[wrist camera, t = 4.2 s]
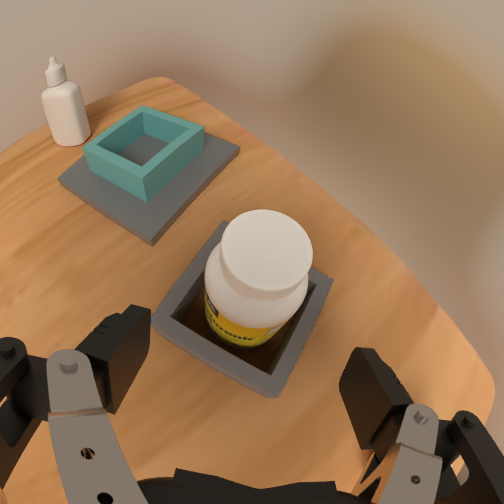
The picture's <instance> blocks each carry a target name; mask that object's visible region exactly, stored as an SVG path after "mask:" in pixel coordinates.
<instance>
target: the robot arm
mask: <svg viewBox="0 0 504 504" xmlns="http://www.w3.org/2000/svg"><path fill="white" fill-rule="evenodd" d="M150 325H151V310H150V309H148V308H144V307H141V306H137V305H133V304H131V305H130V306H129V307H128V308H127V309H126V310H125V311H124V312H123V313H122V314H119V313H115V314H112V315H110V316H108V317H106V318H105V319H104V320H103V321H102V322H101V323H100V324H99V326H97V327H96V328H95V329H94V330H93V331H92V332H91V333H90V334H89V335H88V336H87V337H86V338H85V339H84V340H83V341H82V342H81V343H80V344H79V345H78V346H77V347H76V348H75V349H74V350H71V349H64V350H59V351H56V352H54V353H53V354H51V355H50V356H49V358H48V359H46V358H41V357H36V356H31V355H28V354H27V350H26V346H25V344H24V343H23V342H22V341H21V340H19V339H17V338H14V337H4V338H0V402H1V401H2V400H3V399H4V397H5V396H6V397H7V399H6V401H5V402H4V403H3V404H2V406H1V407H0V504H7V499H6V496H5V494H4V492H3V488H4V486H5V484H6V482H7V480H8V478H9V476H10V474H11V473H12V471H13V469H14V467H15V465H16V463H17V462H18V460H19V458H20V456H21V454H22V453H23V451H24V449H25V448H26V446H27V444H28V443H29V441H30V439H31V438H32V436H33V434H34V433H35V431H36V429H37V428H38V426H39V425H40V423H41V421H42V420H44V421H48V422H49V428H50V434H51V439H52V444H53V449H54V454H55V458H56V462H57V466H58V470H59V474H60V477H61V481H62V484H63V488H64V491H65V494H66V497H67V500H68V503H69V504H504V456H503V454H502V453H501V451H500V450H499V448H498V447H497V445H496V443H495V442H494V440H493V439H492V437H491V436H490V435H489V433H488V431H487V430H486V429H485V427H484V426H483V424H482V423H481V421H480V420H479V419H478V417H477V416H475V415H474V414H473V413H471V412H468V411H464V410H462V411H458V412H457V413H456V414H455V416H454V417H453V418H452V420H451V421H447V420H440V419H438V416H437V414H436V413H435V412H434V411H433V410H432V409H431V408H429V407H428V406H426V405H423V404H418V403H415V404H414V402H413V401H412V399H411V398H410V396H409V394H408V393H407V391H406V390H405V388H404V387H403V385H402V384H400V383H401V382H400V381H399V379H398V378H397V377H396V375H395V373H394V372H393V370H392V369H391V367H389V366H388V365H387V364H386V363H385V362H383V361H382V360H381V358H380V357H379V355H378V354H377V352H376V351H375V350H374V349H373V348H362V347H356V348H355V349H354V350H353V351H352V354H351V356H350V358H349V360H348V363H347V365H346V367H345V369H344V371H343V373H342V376H341V378H340V382H339V391H340V394H341V396H342V399H343V402H344V404H345V407H346V410H347V412H348V415H349V418H350V420H351V423H352V426H353V429H354V431H355V434H356V437H357V440H358V443H359V445H360V448H361V450H364V449H374V453H373V454H372V455H371V457H370V458H369V460H368V462H367V464H366V466H365V468H364V470H363V472H362V474H361V476H360V478H359V480H358V482H357V483H356V485H355V487H354V489H353V490H352V492H351V493H346V492H342V491H337V489H336V485H335V481H326V482H298V483H294V484H289V485H283V486H278V487H272V488H265V489H256V488H252V487H249V486H245V485H242V484H239V483H236V482H233V481H230V480H227V479H224V478H221V477H218V476H213V475H207V474H202V473H197V472H192V471H187V470H182V469H178V468H176V470H175V474H174V477H156V478H149V479H144V480H139V481H136V480H135V478H134V476H133V474H132V472H131V470H130V468H129V466H128V464H127V461H126V459H125V457H124V455H123V452H122V450H121V448H120V445H119V443H118V441H117V438H116V436H115V433H114V431H113V428H112V425H111V423H110V420H109V417H108V414H107V412H109V413H112V414H114V415H115V413H116V412H117V410H118V408H119V406H120V404H121V402H122V400H123V399H124V397H125V395H126V393H127V391H128V389H129V388H130V386H131V384H132V382H133V380H134V379H135V377H136V375H137V373H138V371H139V370H140V368H141V366H142V364H143V362H144V361H145V359H146V357H147V354H148V350H149V345H150ZM460 455H461V456H462V458H463V460H464V462H465V464H466V466H467V468H468V470H469V477H468V479H467V481H466V482H465V483H464V484H463V485H462V486H460V484H459V482H458V480H457V477H456V475H455V473H454V471H453V469H452V467H451V464H452V463H453V462H454V461H455V460H456V459H457V458H458V457H459V456H460Z"/></svg>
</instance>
